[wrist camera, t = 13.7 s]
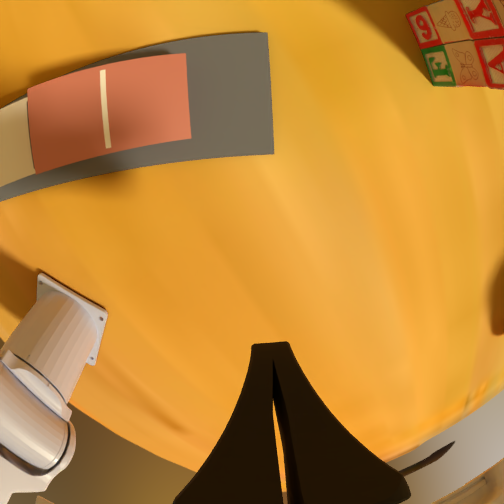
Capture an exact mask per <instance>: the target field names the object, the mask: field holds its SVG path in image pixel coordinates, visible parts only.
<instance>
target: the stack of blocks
mask: <svg viewBox="0 0 504 504" xmlns="http://www.w3.org/2000/svg"><path fill="white" fill-rule="evenodd" d="M406 17H407V19H408V22H409V24H410V26H411V28H412V30H413V33H414V35H415V37H416V40H417V42H418V45H419V47H420V49H421V51H422V54H423V57H424V59H425V62H426V65H427V68H428V71H429V74H430V77H431V80H432V84H433V86H439V87H463V86H475V87H489V88H490V89H500V90H504V0H441V1H438V2H435V3H433V4H430V5H426V6H423V7H421V8H419V9H417V10H415V11H412V12H410V13H408V14H406Z"/></svg>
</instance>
